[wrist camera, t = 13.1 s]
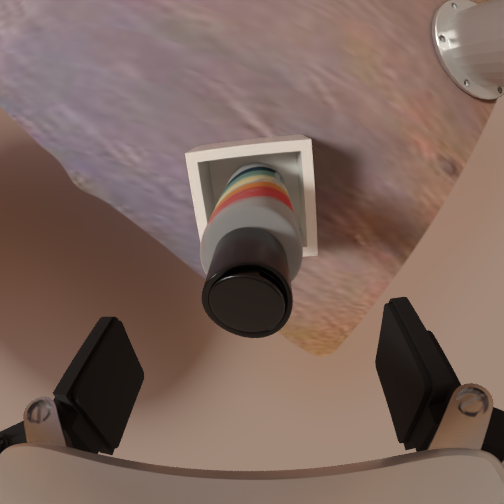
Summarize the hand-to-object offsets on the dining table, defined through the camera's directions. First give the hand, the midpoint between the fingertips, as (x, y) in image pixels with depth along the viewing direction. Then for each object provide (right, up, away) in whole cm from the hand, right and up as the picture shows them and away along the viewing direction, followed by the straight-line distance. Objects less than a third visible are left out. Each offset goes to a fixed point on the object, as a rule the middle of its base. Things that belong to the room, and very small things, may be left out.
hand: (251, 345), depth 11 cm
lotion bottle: (0, +9, +20) cm, 22 cm away
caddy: (0, +10, +21) cm, 23 cm away
